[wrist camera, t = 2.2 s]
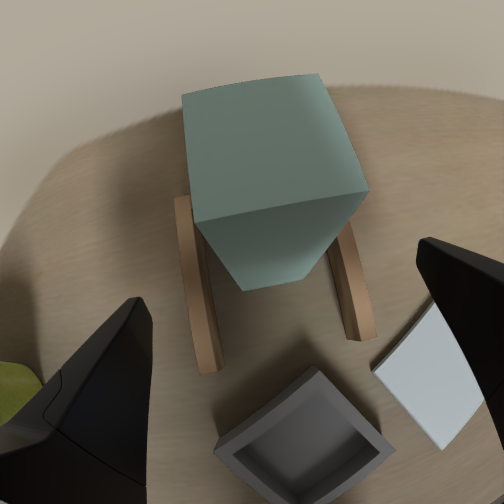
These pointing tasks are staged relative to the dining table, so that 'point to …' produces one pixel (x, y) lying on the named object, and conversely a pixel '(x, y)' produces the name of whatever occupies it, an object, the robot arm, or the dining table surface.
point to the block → (270, 175)
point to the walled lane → (201, 299)
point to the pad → (431, 378)
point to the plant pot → (15, 388)
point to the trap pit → (304, 444)
